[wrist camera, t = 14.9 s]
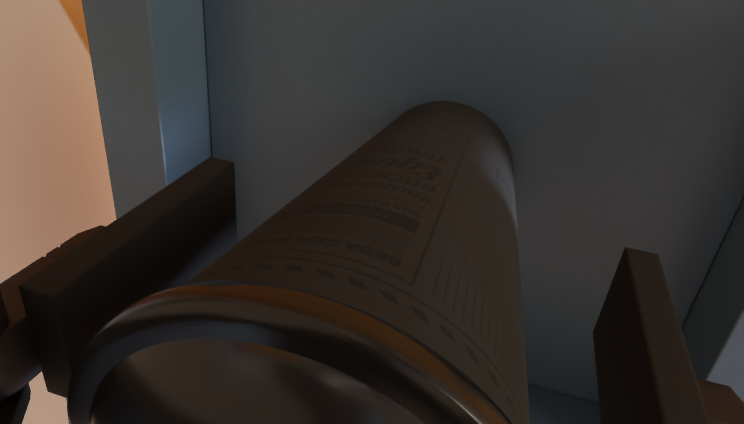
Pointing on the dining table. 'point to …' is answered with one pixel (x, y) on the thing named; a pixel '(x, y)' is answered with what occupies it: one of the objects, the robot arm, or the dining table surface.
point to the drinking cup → (342, 301)
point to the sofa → (494, 99)
